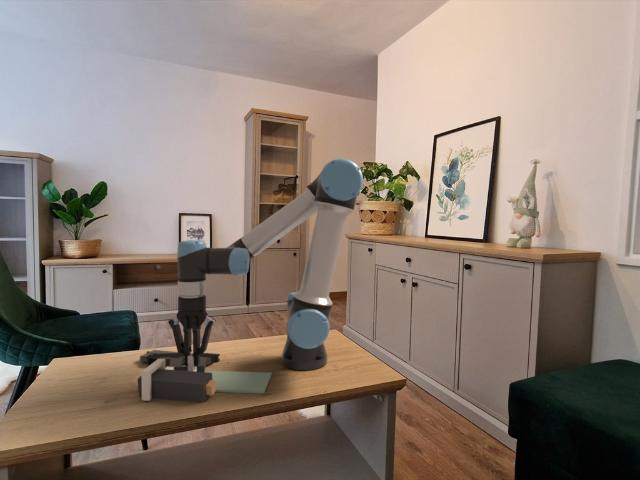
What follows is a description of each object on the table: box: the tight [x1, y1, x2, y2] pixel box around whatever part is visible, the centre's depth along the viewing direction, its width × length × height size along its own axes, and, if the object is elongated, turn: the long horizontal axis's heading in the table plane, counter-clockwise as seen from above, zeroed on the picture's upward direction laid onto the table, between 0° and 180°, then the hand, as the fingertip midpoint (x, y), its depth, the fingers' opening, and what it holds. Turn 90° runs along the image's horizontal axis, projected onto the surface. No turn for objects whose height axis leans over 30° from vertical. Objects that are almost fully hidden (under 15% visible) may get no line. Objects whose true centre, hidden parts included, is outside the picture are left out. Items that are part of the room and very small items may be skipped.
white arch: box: [140, 359, 174, 402], centre depth 98 cm, size 2×14×7 cm, turn 178°
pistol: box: [139, 349, 221, 372], centre depth 114 cm, size 2×26×15 cm
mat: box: [205, 370, 273, 394], centre depth 103 cm, size 26×12×1 cm, turn 88°
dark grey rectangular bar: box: [136, 369, 217, 404], centre depth 95 cm, size 20×5×5 cm, turn 82°
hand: (192, 377), depth 103 cm, fingers closed
